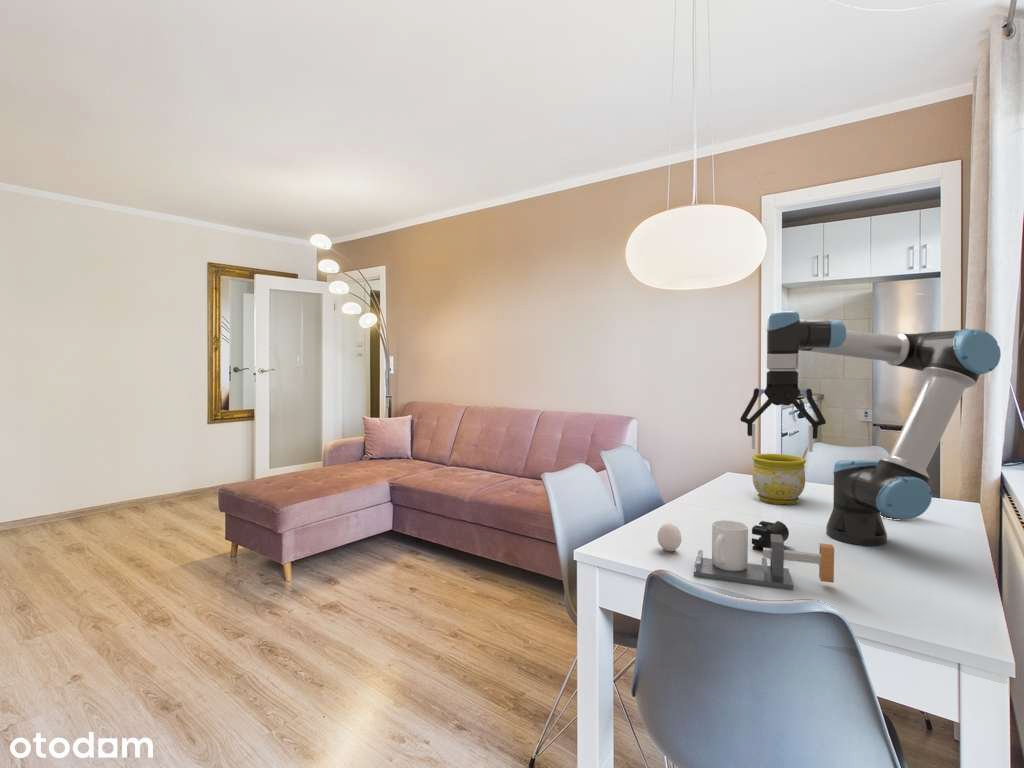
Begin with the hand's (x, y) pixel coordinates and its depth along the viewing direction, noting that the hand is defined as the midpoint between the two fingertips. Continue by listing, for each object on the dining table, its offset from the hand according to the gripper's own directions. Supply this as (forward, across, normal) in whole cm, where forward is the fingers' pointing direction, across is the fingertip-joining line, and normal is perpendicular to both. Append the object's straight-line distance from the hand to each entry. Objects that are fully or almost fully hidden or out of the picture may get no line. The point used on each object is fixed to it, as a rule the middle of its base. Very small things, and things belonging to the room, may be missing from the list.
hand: (781, 449), depth 142 cm
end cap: (+29, +2, -6) cm, 30 cm away
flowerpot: (+29, -4, -64) cm, 70 cm away
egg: (+29, +28, +7) cm, 41 cm away
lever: (+27, -2, +18) cm, 33 cm away
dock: (+29, +10, +18) cm, 35 cm away
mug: (+28, +13, +18) cm, 36 cm away
